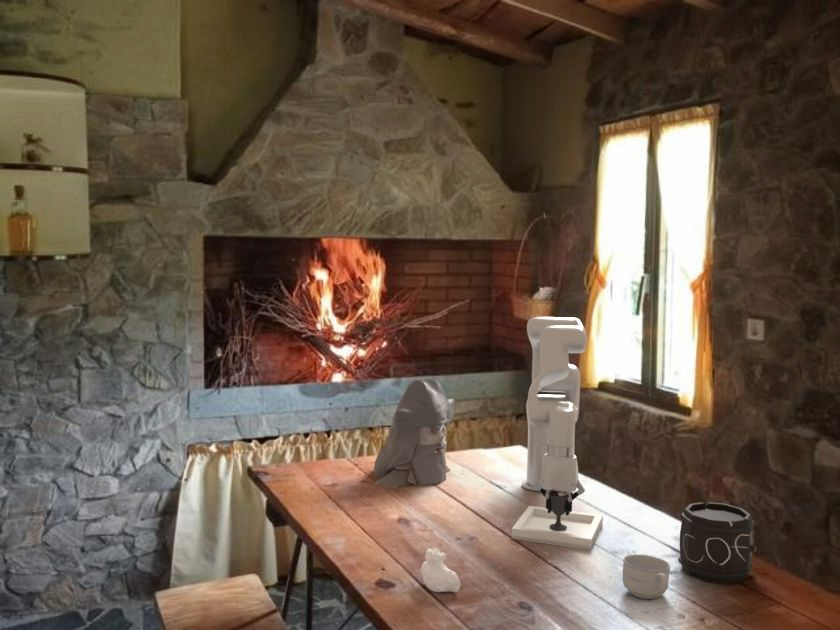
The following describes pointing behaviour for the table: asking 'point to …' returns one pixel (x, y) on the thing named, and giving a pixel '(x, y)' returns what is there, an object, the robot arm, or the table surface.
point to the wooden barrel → (716, 542)
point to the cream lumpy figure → (438, 573)
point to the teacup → (645, 575)
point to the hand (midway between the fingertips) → (558, 512)
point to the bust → (416, 438)
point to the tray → (576, 534)
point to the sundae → (558, 507)
